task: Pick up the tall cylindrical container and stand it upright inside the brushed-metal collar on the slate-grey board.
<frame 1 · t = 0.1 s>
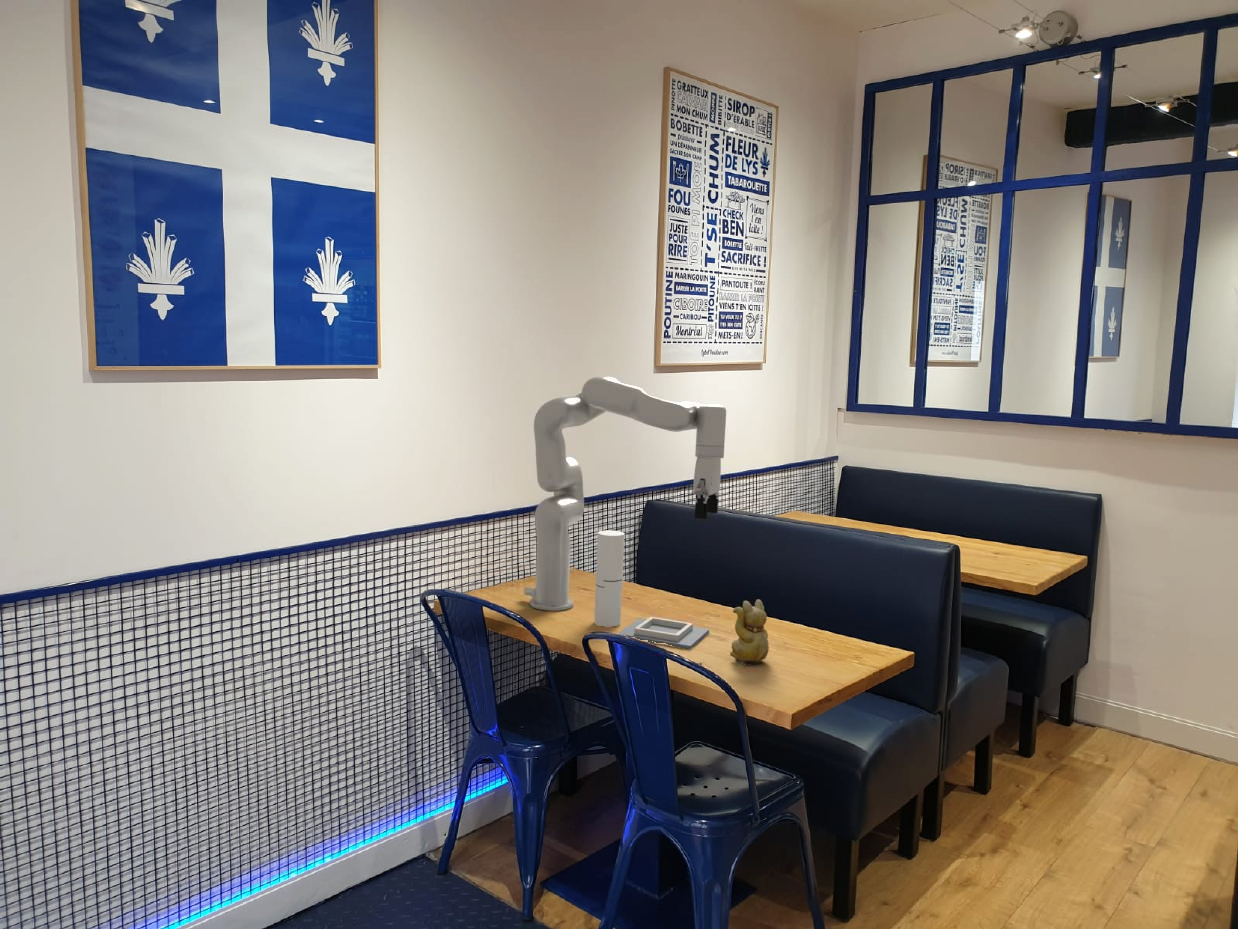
hand: (706, 515, 250), 31 cm above the table, tool pointing down, fingers open, 9 cm apart
cylindrical container: (607, 624, 256), on the table
decorative figurine: (751, 662, 229), on the table
collar board: (663, 635, 247), on the table
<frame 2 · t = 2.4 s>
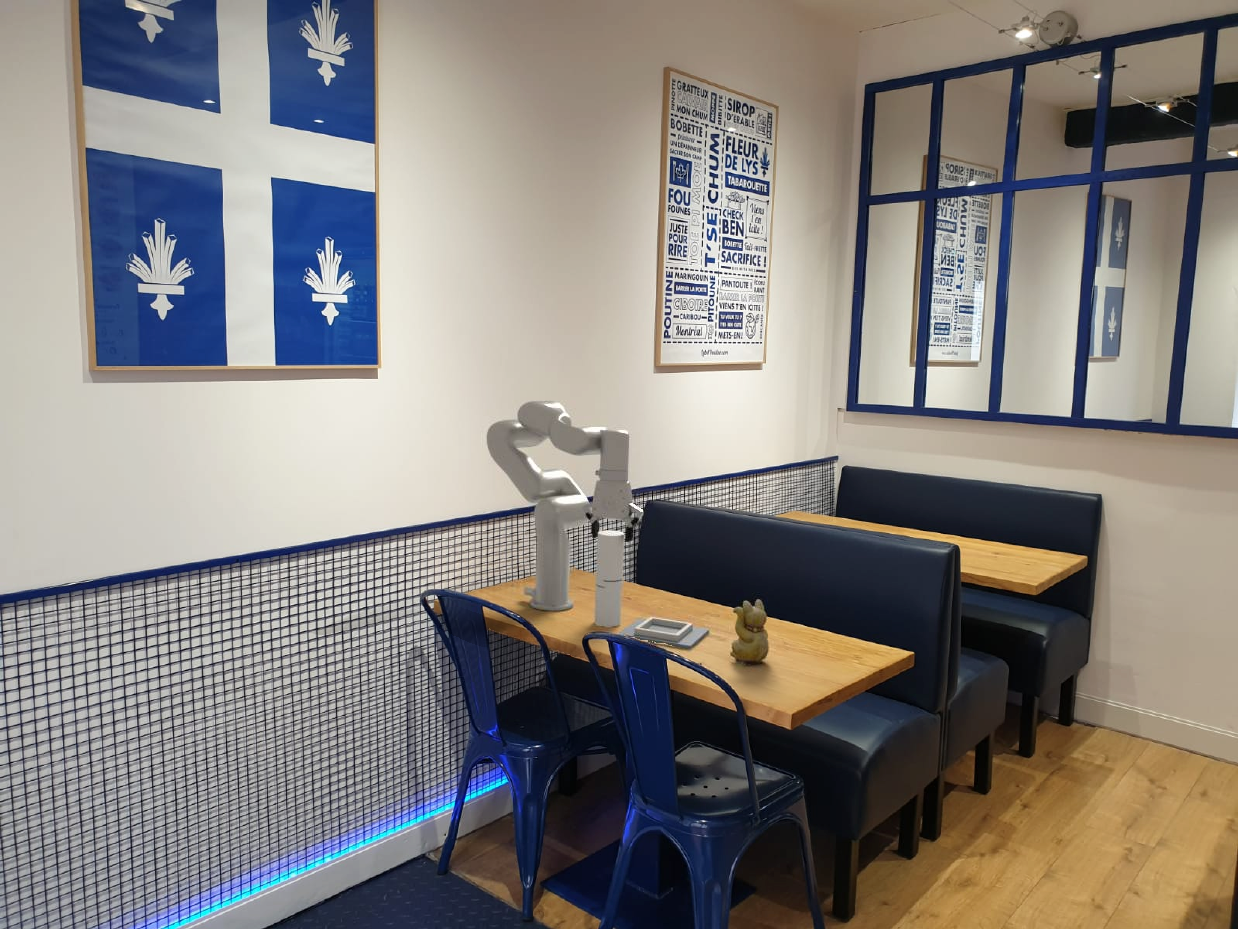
hand: (612, 539, 252), 23 cm above the table, tool pointing down, fingers open, 9 cm apart
nothing on the table moved.
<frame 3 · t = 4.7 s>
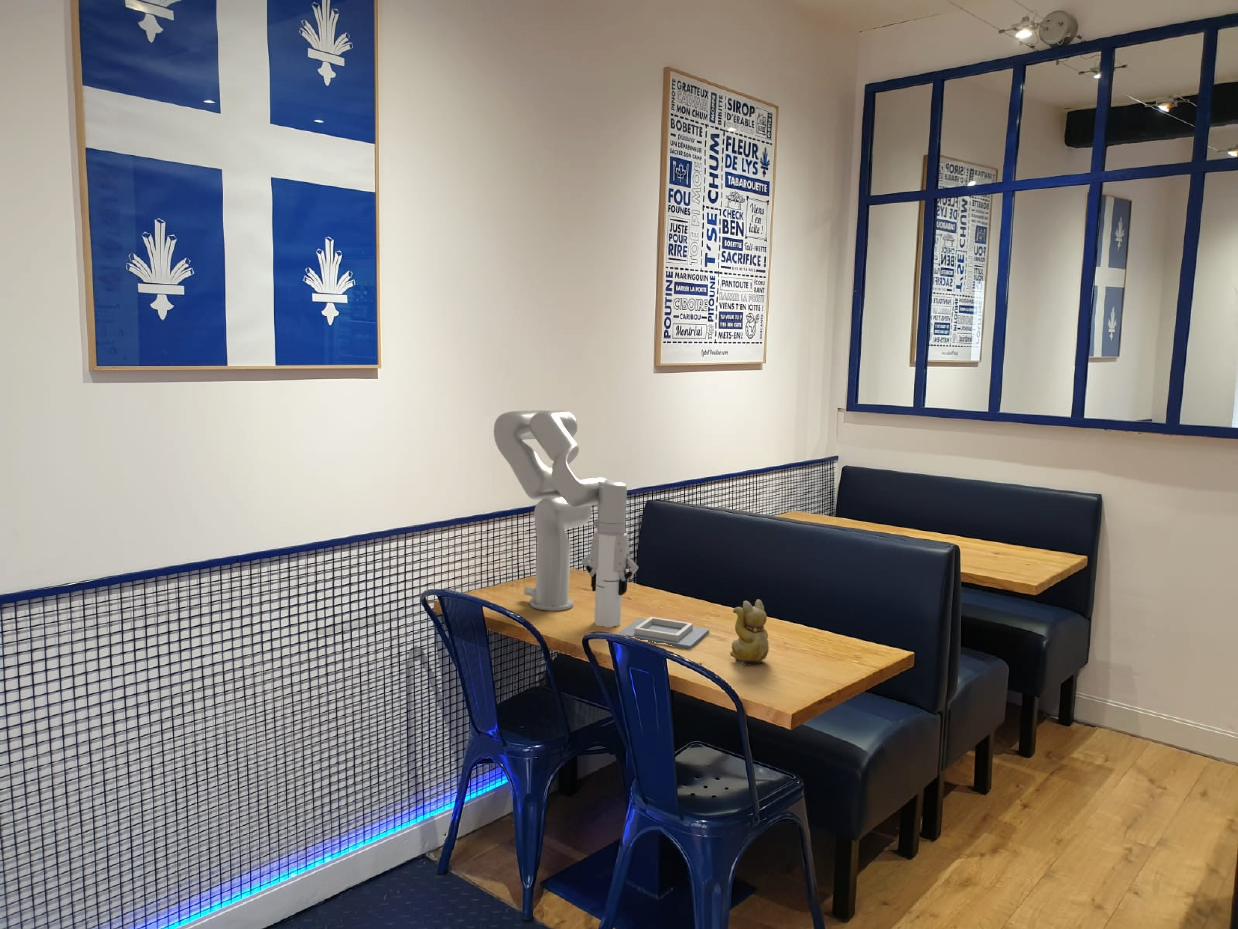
hand: (608, 591, 254), 9 cm above the table, tool pointing down, fingers closed on cylindrical container, 7 cm apart
cylindrical container: (607, 624, 256), on the table, touching gripper
everything else where it was.
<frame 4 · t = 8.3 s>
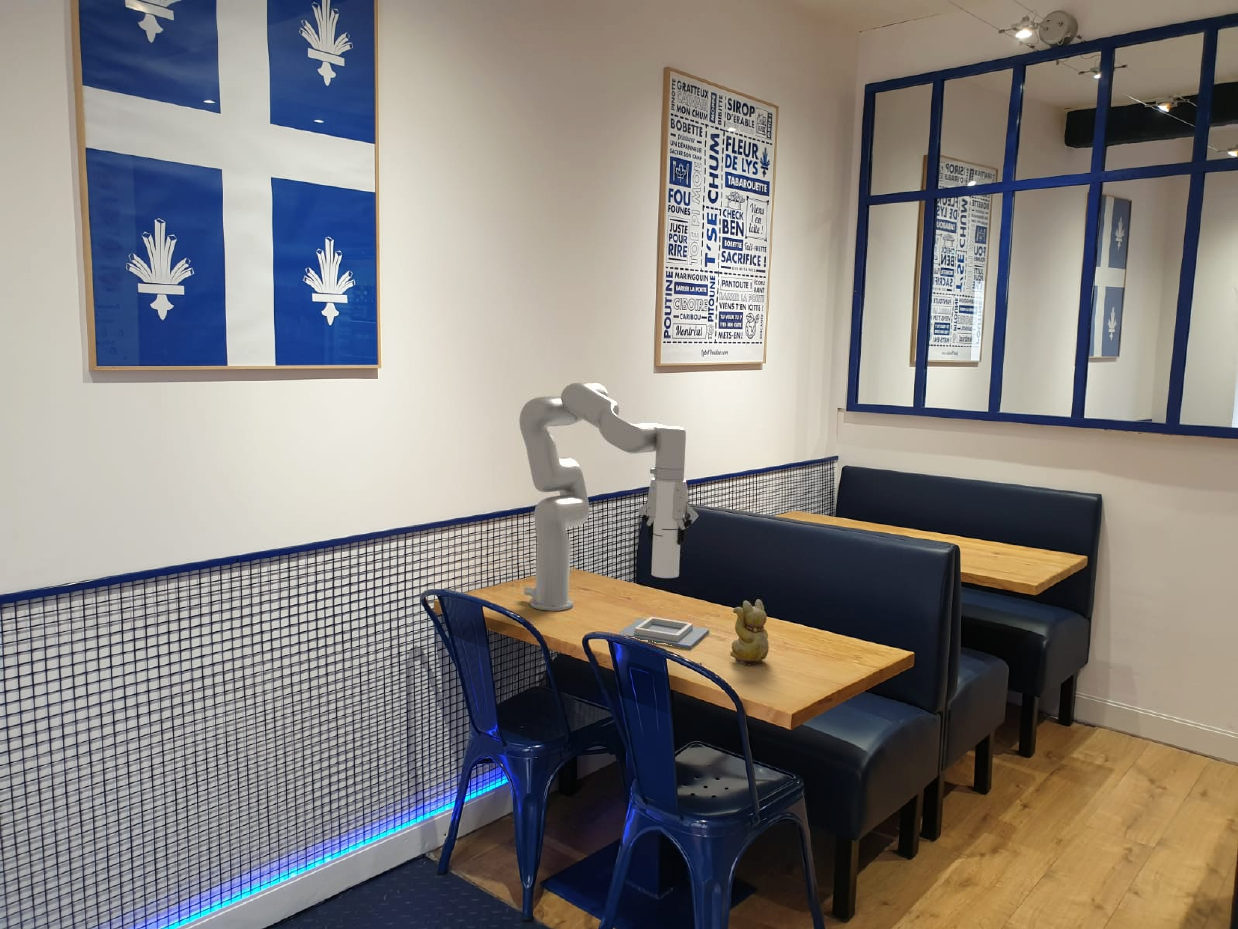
hand: (666, 541, 244), 25 cm above the table, tool pointing down, fingers closed on cylindrical container, 7 cm apart
cylindrical container: (665, 575, 245), point 16 cm above the table, touching gripper
everything else where it was.
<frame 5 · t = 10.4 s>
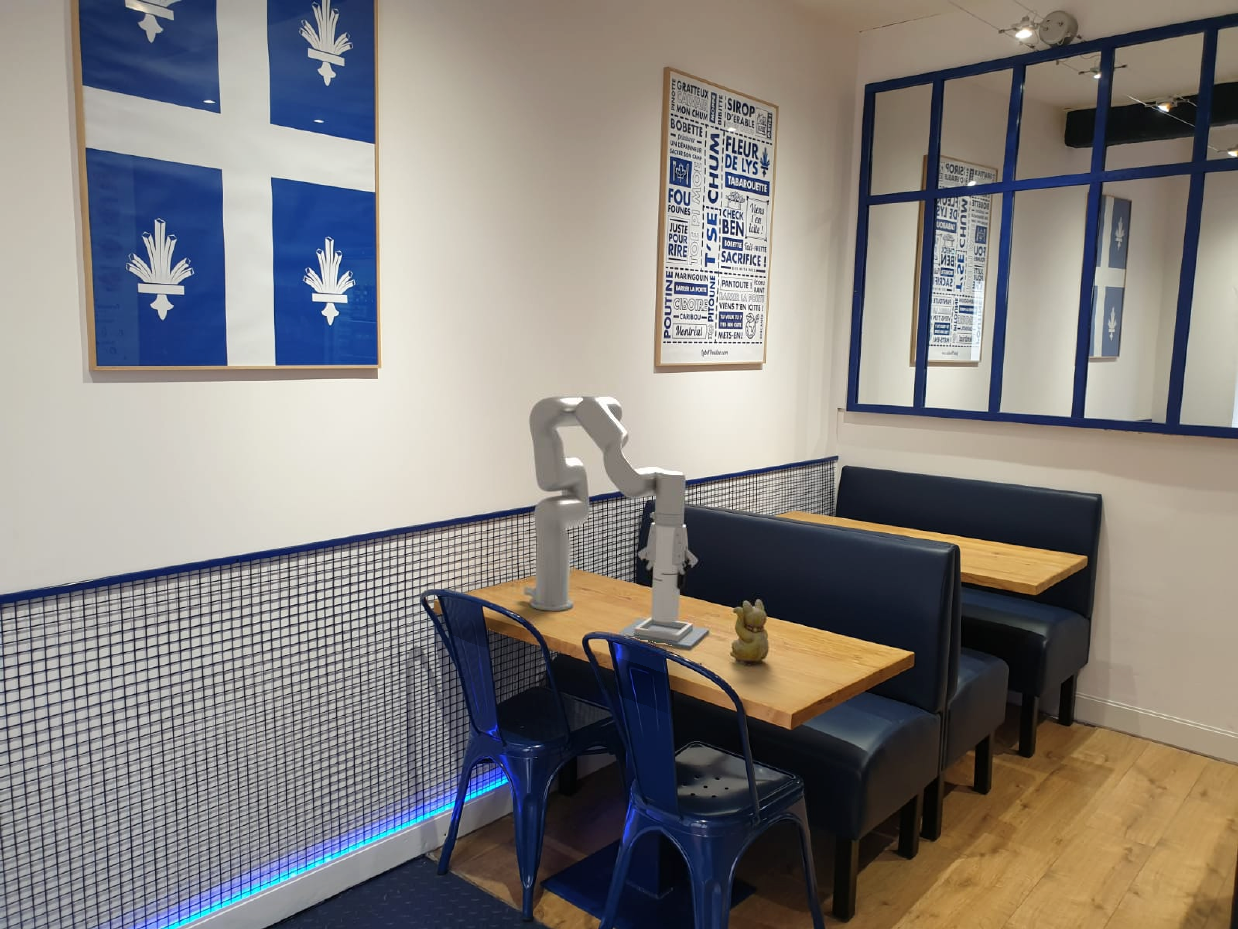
hand: (666, 585, 246), 13 cm above the table, tool pointing down, fingers closed on cylindrical container, 7 cm apart
cylindrical container: (664, 619, 247), point 4 cm above the table, touching gripper
everything else where it was.
when the fingers open (11 cm above the table, at t = 11.9 s): cylindrical container drops 1 cm, resting on collar board.
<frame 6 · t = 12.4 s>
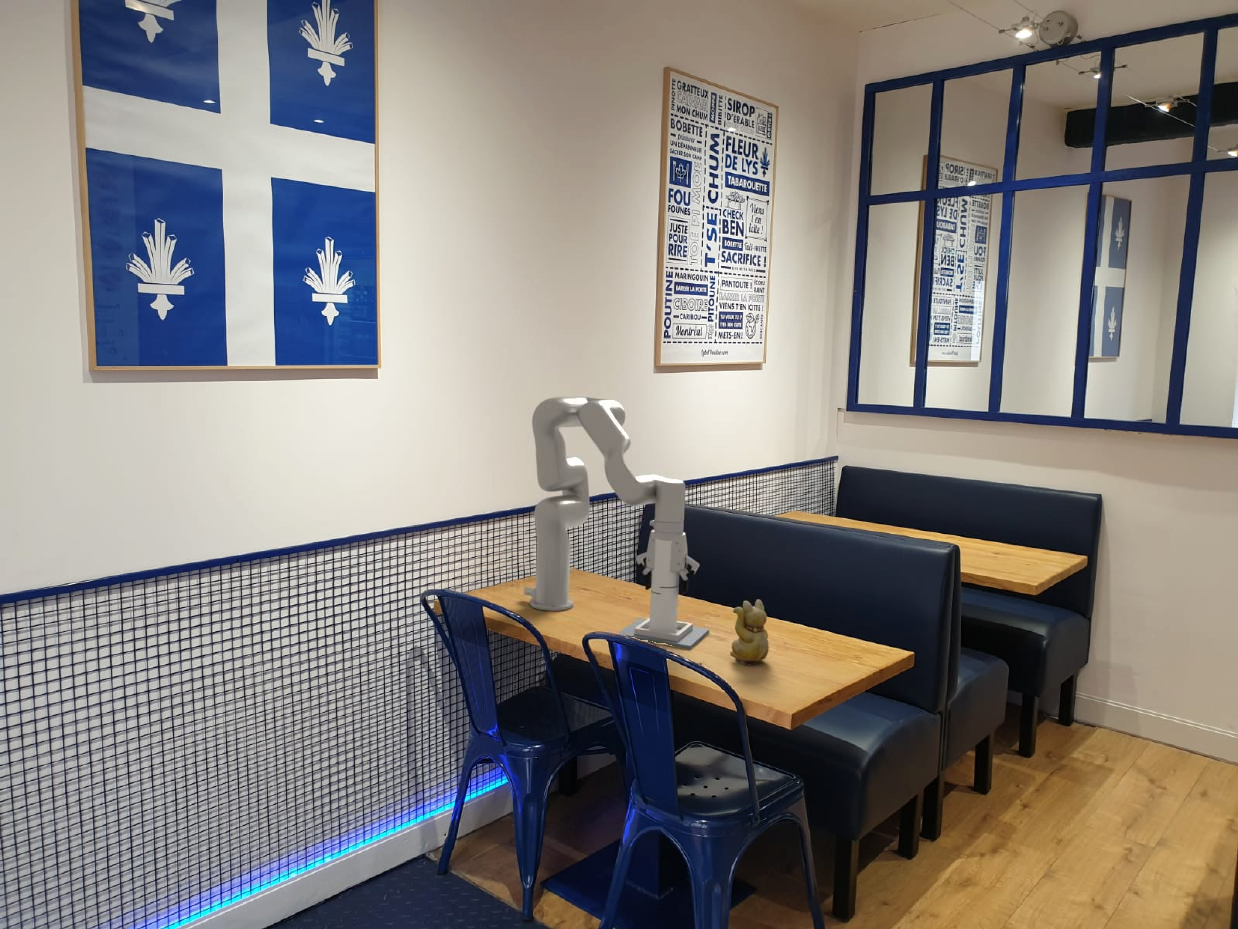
hand: (665, 591, 246), 12 cm above the table, tool pointing down, fingers open, 9 cm apart
cylindrical container: (662, 631, 247), point 1 cm above the table, touching collar board
everything else where it was.
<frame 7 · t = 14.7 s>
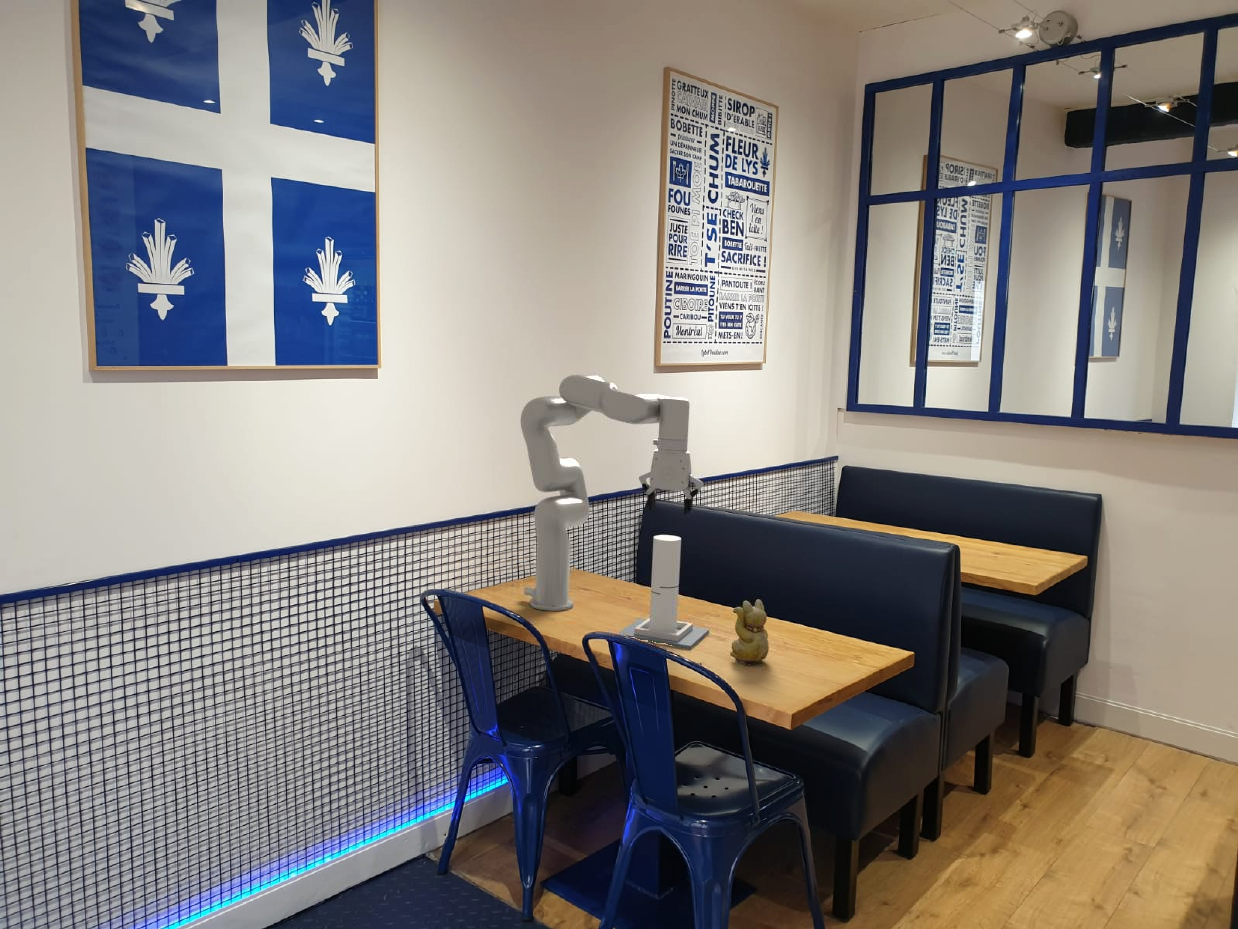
hand: (669, 511, 243), 33 cm above the table, tool pointing down, fingers open, 9 cm apart
nothing on the table moved.
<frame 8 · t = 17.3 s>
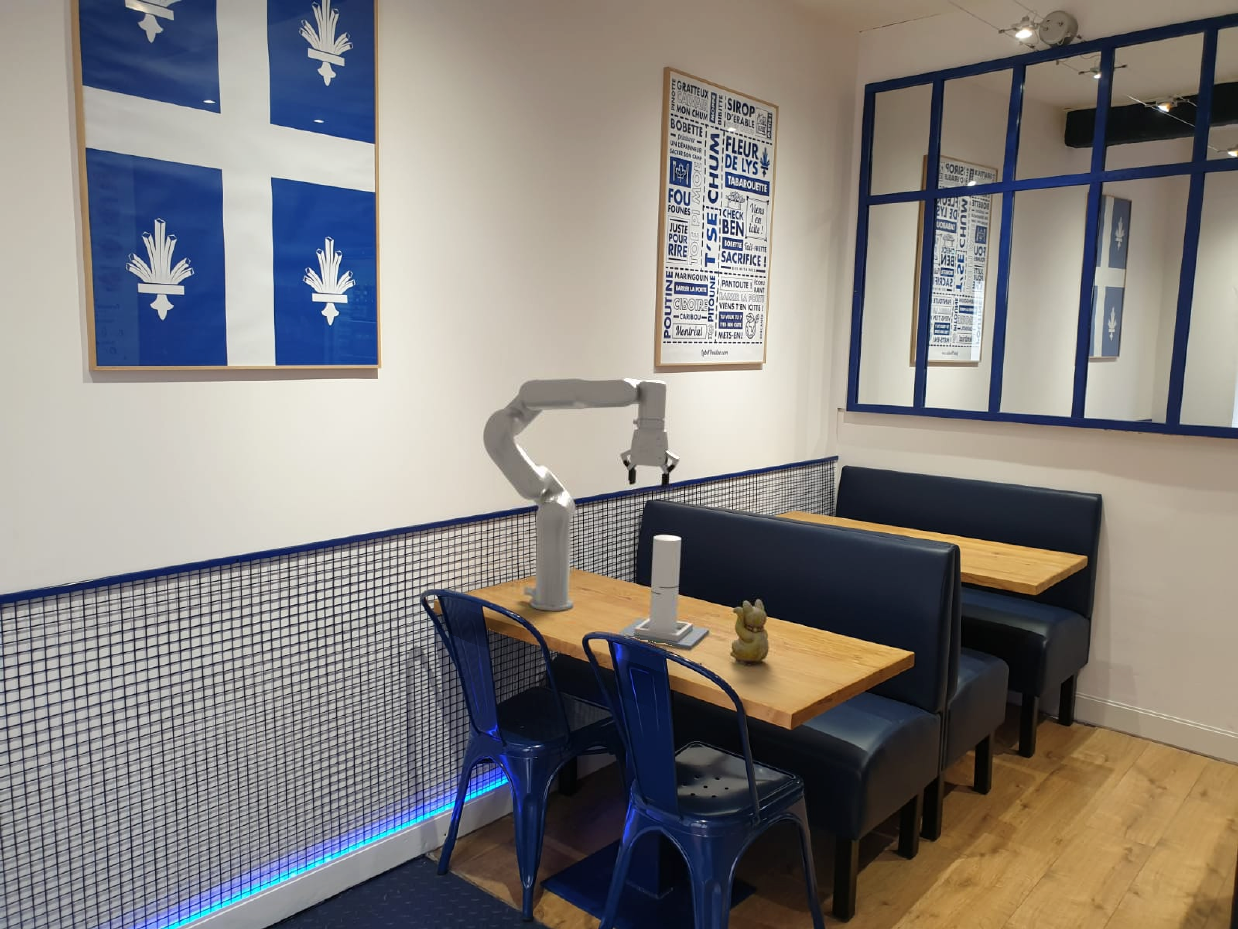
hand: (648, 485, 264), 36 cm above the table, tool pointing down, fingers open, 9 cm apart
nothing on the table moved.
at the end: cylindrical container 0.3 cm off-centre on the collar board, point 0.8 cm above the collar board's base; cylindrical container tilted 0°; the gripper is holding nothing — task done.
